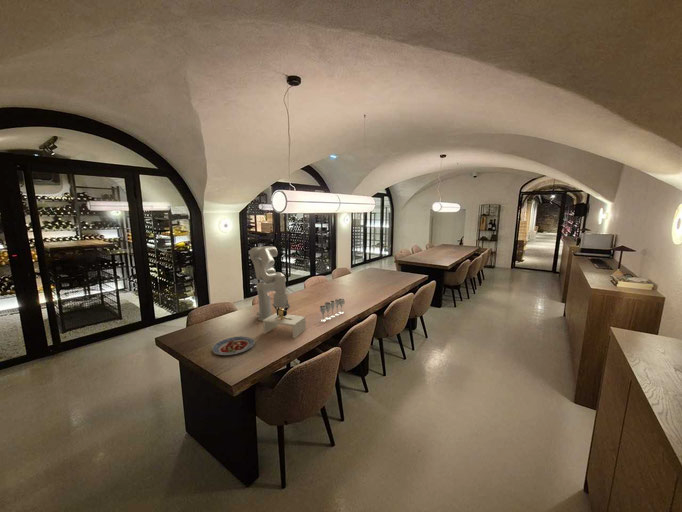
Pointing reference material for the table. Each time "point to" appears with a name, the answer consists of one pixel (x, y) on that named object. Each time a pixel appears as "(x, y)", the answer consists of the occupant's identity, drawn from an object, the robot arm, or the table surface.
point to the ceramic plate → (233, 345)
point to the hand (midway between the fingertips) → (281, 315)
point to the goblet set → (331, 305)
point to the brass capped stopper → (280, 313)
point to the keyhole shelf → (285, 323)
